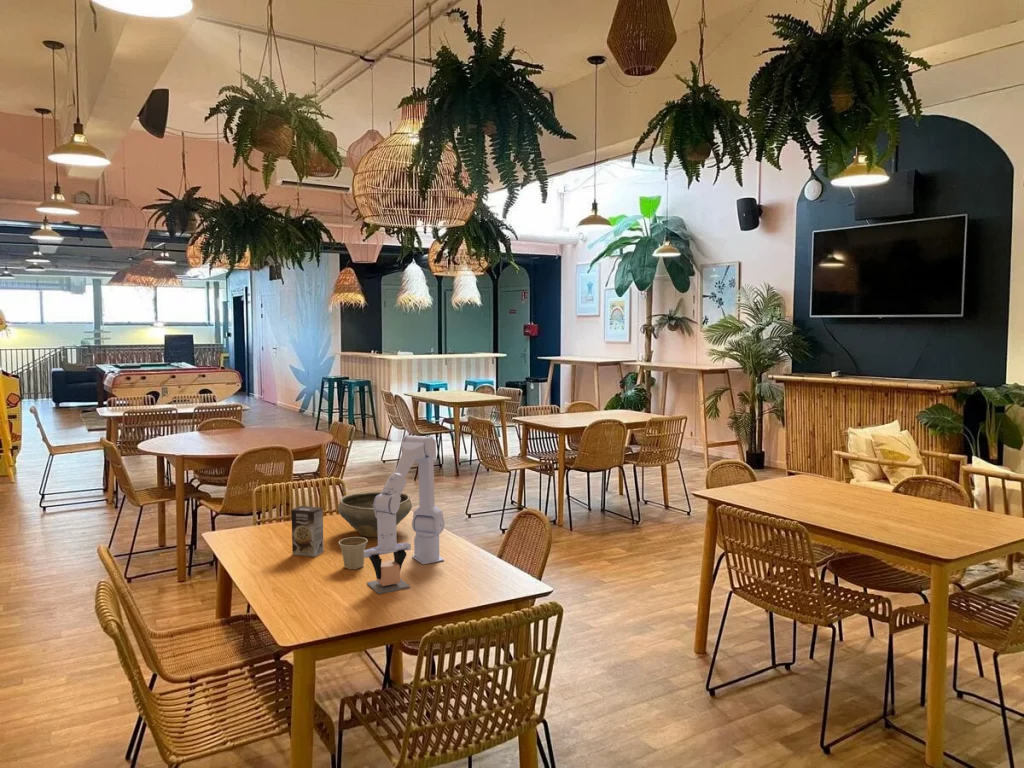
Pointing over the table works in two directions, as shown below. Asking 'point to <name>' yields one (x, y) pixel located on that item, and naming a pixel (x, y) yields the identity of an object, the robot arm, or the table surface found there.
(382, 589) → the slate coaster
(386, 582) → the painted block
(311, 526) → the coffee box
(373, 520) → the bowl
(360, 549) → the flower pot
